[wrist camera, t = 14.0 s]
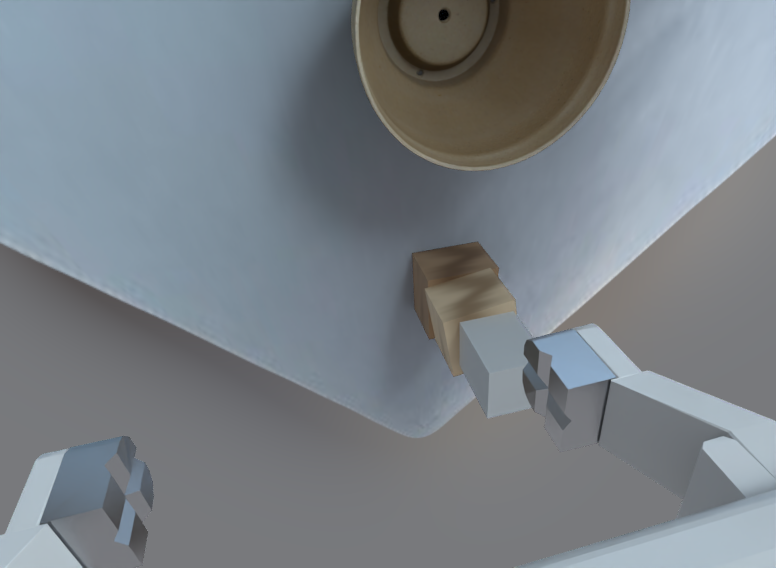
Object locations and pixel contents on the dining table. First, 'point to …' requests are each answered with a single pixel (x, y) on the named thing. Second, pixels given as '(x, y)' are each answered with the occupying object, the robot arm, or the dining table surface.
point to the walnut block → (444, 272)
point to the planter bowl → (484, 72)
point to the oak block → (464, 308)
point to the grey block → (495, 362)
